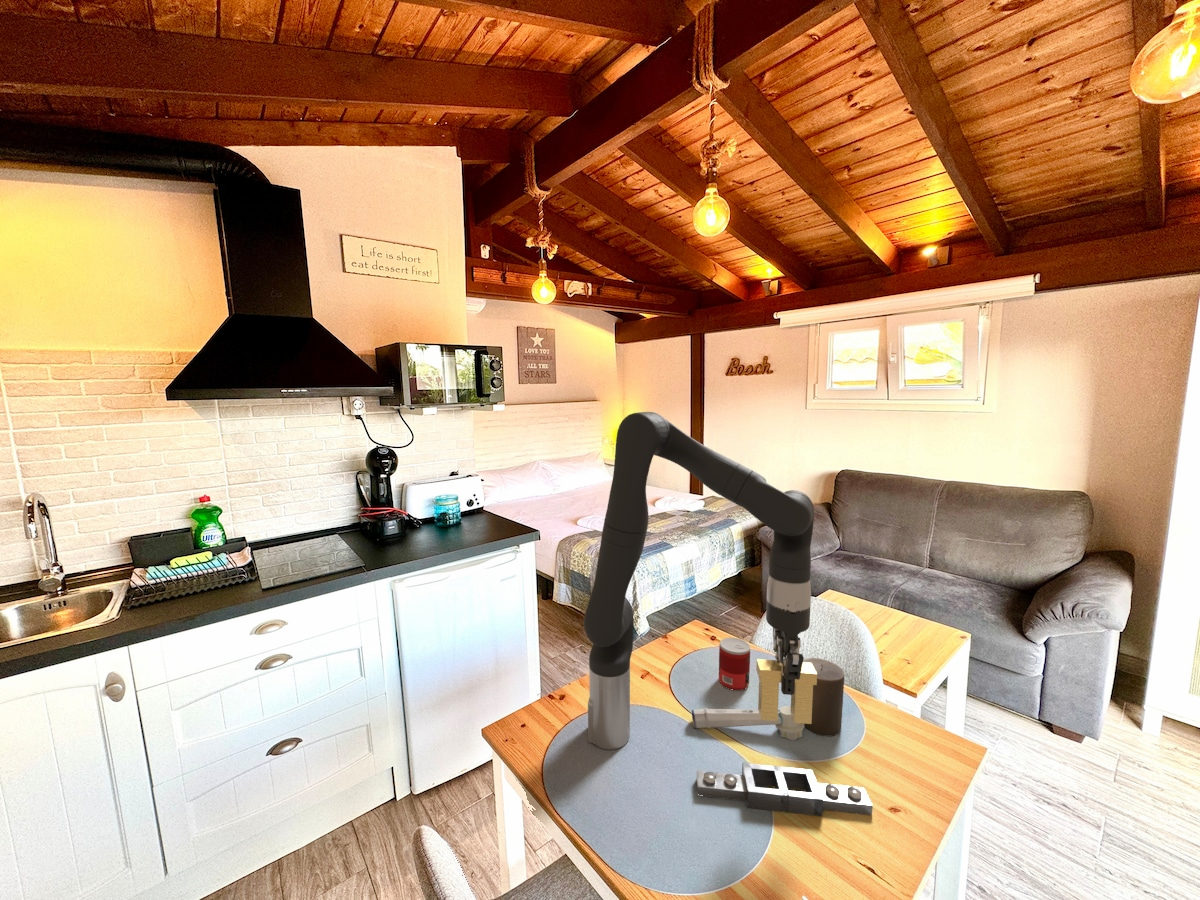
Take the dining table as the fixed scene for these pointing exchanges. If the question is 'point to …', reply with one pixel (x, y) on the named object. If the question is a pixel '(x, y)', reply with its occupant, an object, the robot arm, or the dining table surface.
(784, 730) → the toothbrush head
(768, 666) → the wooden u-shaped block
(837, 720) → the pillar candle
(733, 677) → the canned food
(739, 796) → the chain ends
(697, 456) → the robot arm
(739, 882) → the dining table surface
